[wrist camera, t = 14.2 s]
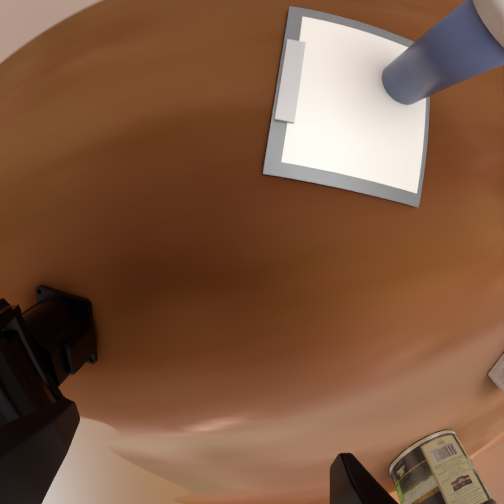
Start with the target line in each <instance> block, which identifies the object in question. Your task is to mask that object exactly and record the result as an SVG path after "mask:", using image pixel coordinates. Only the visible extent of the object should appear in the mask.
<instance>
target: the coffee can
mask: <svg viewBox="0 0 504 504" xmlns="http://www.w3.org/2000/svg"><path fill="white" fill-rule="evenodd" d="M389 473H390V475H391V476H392V479H393V482H394V485H395V488H396V491H397V494H398V497H399V500H400V503H401V504H496V502H495V501H494V500H493V499H492V497H491V495H490V493H489V491H488V490H487V488H486V486H485V484H484V482H483V481H482V479H481V477H480V475H479V473H478V471H477V469H476V468H475V466H474V464H473V462H472V461H471V459H470V457H469V456H468V454H467V452H466V451H465V449H464V447H463V446H462V444H461V442H460V441H459V439H458V437H457V435H456V433H455V432H454V431H452V430H444V431H440V432H437V433H434V434H431V435H429V436H427V437H425V438H423V439H421V440H420V441H418V442H416V443H415V444H413V445H412V446H410V447H409V448H407V449H406V450H405V451H404V452H402V453H401V454H400V455H399V456H398V457H397V458H396V459H395V460H394V461H393V463H392V464H391V466H390V468H389Z"/></svg>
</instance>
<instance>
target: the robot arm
mask: <svg viewBox="0 0 504 504" xmlns="http://www.w3.org/2000/svg"><path fill="white" fill-rule="evenodd" d="M36 296H37V304H35V305H33V306H32V307H30V308H29V309H27V310H26V311H24V312H23V313H21V309H20V307H19V305H14V306H10V304H9V303H8V302H7V301H6V300H5V299H4V298H2V299H0V504H42V502H43V500H44V497H45V496H46V493H47V491H48V489H49V487H50V485H51V483H52V481H53V479H54V477H55V476H56V474H57V471H58V469H59V468H60V466H61V464H62V462H63V460H64V458H65V456H66V454H67V452H68V450H69V447H70V445H71V442H72V439H73V437H74V434H75V432H76V429H77V427H78V424H79V421H80V416H79V413H78V410H77V406H76V404H75V402H74V401H71V400H69V399H67V398H65V397H64V396H63V395H62V393H61V391H60V390H59V388H58V387H59V386H60V385H61V384H62V383H63V381H64V380H65V379H66V378H67V377H68V376H69V375H70V374H71V375H74V374H75V373H76V372H77V371H78V370H79V369H80V368H81V367H82V366H83V364H84V363H85V362H88V363H91V364H95V363H96V361H97V354H96V342H95V334H94V327H93V321H92V310H91V303H90V302H89V301H88V300H87V299H84V298H81V297H77V296H74V295H71V294H67V293H64V292H61V291H58V290H55V289H51V288H48V287H45V286H42V285H39V286H37V287H36ZM84 304H85V305H86V307H85V305H84ZM330 504H398V503H397V502H396V501H395V500H394V499H393V498H392V497H391V496H390V495H389V493H388V492H387V491H386V490H385V489H384V488H383V487H382V486H381V485H380V484H379V483H378V482H377V481H376V480H375V479H374V477H373V476H372V475H371V474H370V473H369V472H368V471H367V470H366V469H365V468H364V467H363V465H362V464H361V463H360V462H359V461H358V460H357V459H356V458H355V456H354V455H353V454H351V453H340V454H338V456H337V457H336V459H335V460H334V462H333V463H332V465H331V467H330Z"/></svg>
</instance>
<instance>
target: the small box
mask: <svg viewBox="0 0 504 504" xmlns="http://www.w3.org/2000/svg"><path fill="white" fill-rule="evenodd" d="M488 376H489V377H490V378H491V379H492V380H493V382H494V383H495V384H496V385H497V386H498V387H499V388H500V390H501V391H502V392H503V393H504V353H503V355H502V356H501V357H500V359H499V360H498V361H497V363H496V364H495V365H494V366H493V368H492V369H491V370H490V371H489V373H488Z"/></svg>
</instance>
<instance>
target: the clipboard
mask: <svg viewBox="0 0 504 504" xmlns="http://www.w3.org/2000/svg"><path fill="white" fill-rule="evenodd" d="M413 43H414V42H413V41H411V40H408V39H406V38H403V37H401V36H398V35H396V34H393V33H391V32H388V31H385V30H382V29H379V28H377V27H374V26H371V25H367V24H364V23H361V22H358V21H354V20H351V19H347V18H344V17H340V16H336V15H332V14H327V13H323V12H318V11H314V10H309V9H303V8H298V7H291V6H290V7H289V13H288V19H287V26H286V32H285V38H284V44H283V50H282V57H281V63H280V69H279V75H278V82H277V88H276V94H275V100H274V107H273V113H272V119H271V125H270V132H269V138H268V144H267V151H266V157H265V163H264V170H263V174H266V175H272V176H278V177H284V178H290V179H295V180H301V181H306V182H311V183H316V184H321V185H326V186H331V187H336V188H341V189H345V190H350V191H354V192H359V193H363V194H367V195H371V196H375V197H380V198H384V199H388V200H391V201H395V202H399V203H403V204H407V205H410V206H414V207H419V202H420V196H421V190H422V184H423V177H424V169H425V161H426V152H427V141H428V128H429V108H430V96H429V97H426V98H424V99H422V100H420V101H418V102H416V103H414V104H410V105H405V104H401V103H399V102H397V101H395V100H394V99H393V98H392V97H390V95H389V94H388V93H387V92H386V90H385V88H384V86H383V83H382V73H383V70H384V69H385V68H386V67H387V66H388V65H389V64H390V63H391V62H392V61H394V60H395V59H396V58H397V57H398V56H399V55H400V54H402V53H403V52H404V51H405V50H406V49H407V48H409V47H410V46H411V45H412V44H413Z"/></svg>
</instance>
